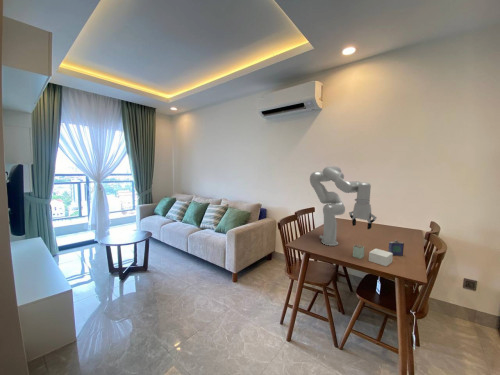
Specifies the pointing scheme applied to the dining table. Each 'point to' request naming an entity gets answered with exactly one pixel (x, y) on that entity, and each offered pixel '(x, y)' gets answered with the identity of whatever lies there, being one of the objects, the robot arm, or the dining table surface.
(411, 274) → the dining table surface
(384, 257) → the cream box
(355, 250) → the open sage green box
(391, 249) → the flask
